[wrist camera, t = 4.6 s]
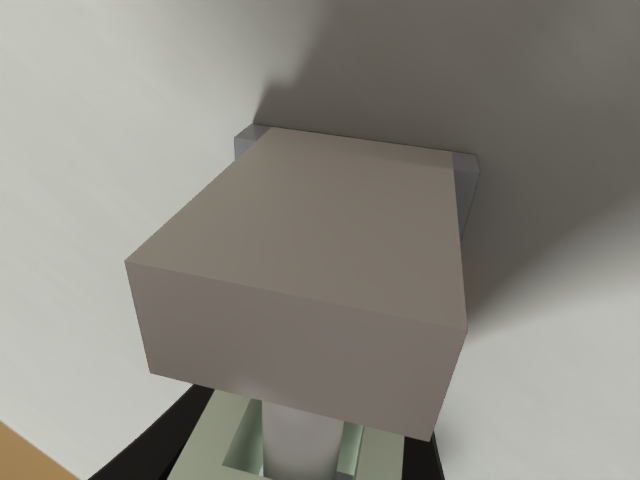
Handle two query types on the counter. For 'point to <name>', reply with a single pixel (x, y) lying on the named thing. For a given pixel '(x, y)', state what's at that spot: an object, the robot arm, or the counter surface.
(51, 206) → the counter surface
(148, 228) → the counter surface
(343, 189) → the rod with sliding collar
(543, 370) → the counter surface
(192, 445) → the sleeve
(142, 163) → the counter surface
